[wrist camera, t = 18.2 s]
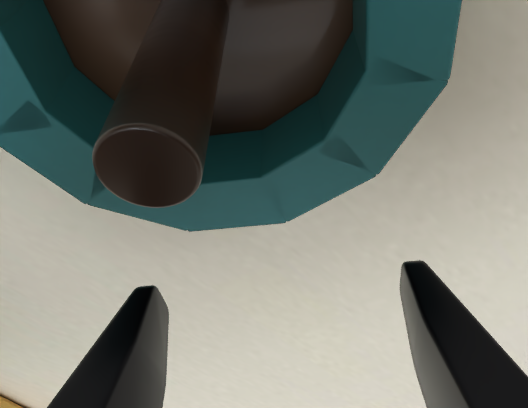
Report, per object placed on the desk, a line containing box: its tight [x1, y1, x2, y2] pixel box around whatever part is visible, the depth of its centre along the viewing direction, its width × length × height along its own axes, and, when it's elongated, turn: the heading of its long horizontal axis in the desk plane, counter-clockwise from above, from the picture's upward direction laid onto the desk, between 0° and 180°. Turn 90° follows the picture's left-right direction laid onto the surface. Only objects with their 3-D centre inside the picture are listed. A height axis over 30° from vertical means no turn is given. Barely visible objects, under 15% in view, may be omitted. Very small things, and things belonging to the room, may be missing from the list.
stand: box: [43, 0, 353, 208], centre depth 10 cm, size 10×10×8 cm
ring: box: [0, 0, 462, 231], centre depth 11 cm, size 12×12×2 cm
